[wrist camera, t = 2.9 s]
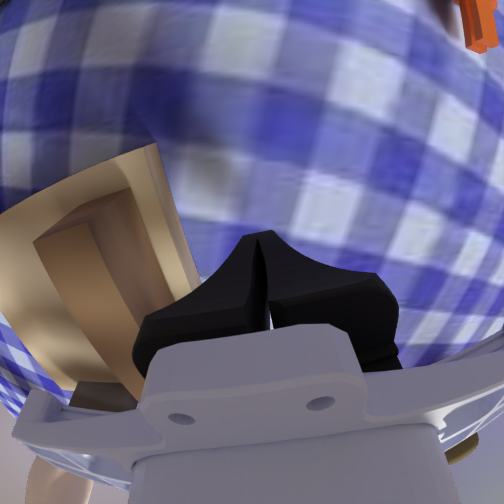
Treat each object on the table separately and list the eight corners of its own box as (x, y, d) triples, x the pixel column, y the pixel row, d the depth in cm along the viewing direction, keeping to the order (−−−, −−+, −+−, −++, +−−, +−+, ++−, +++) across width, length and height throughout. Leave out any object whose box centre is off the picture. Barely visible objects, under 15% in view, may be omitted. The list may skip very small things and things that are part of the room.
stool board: (235, 369, 20) (235, 437, 15) (68, 375, 22) (49, 420, 16) (156, 142, 12) (99, 166, 7) (-22, 228, 14) (-67, 265, 8)
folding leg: (216, 380, 17) (212, 430, 14) (173, 383, 18) (165, 430, 14) (132, 186, 11) (89, 221, 8) (78, 205, 11) (30, 242, 8)
